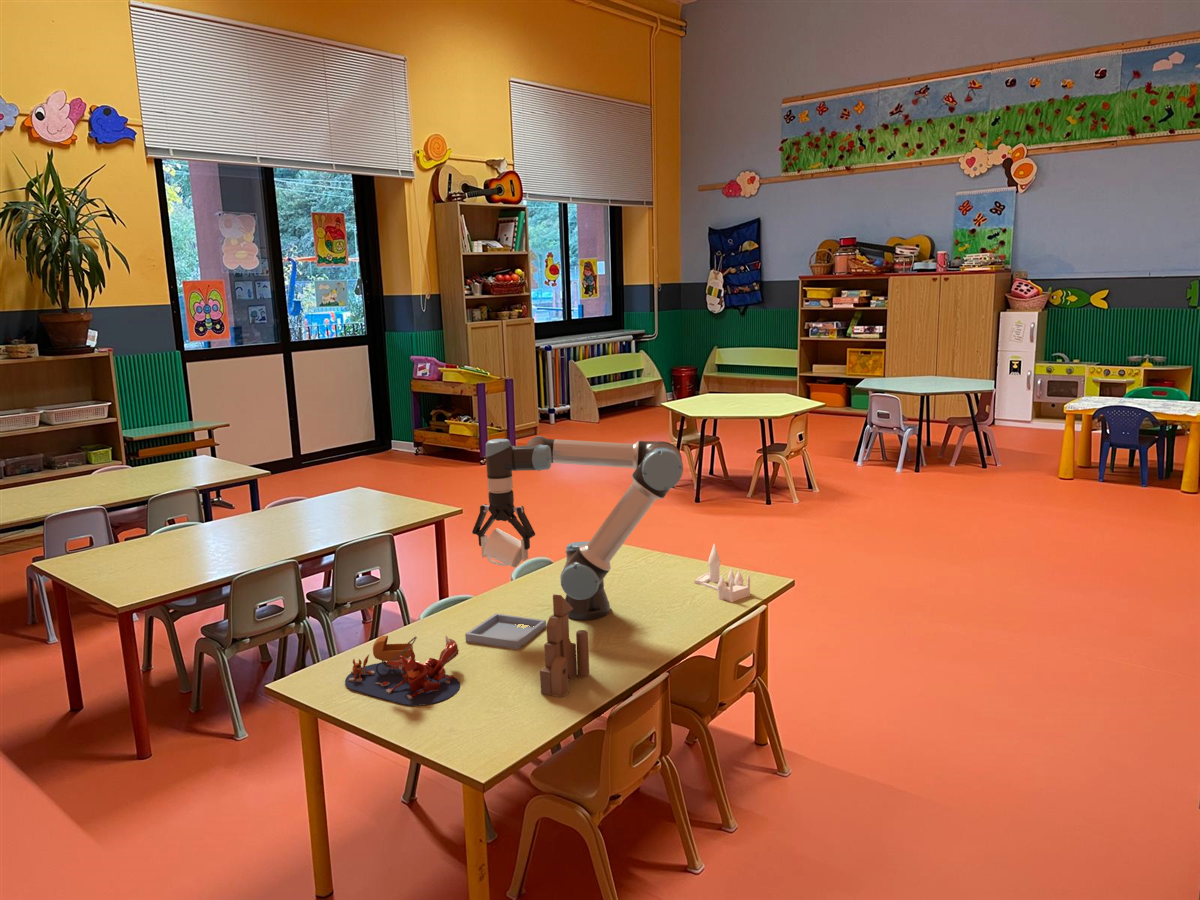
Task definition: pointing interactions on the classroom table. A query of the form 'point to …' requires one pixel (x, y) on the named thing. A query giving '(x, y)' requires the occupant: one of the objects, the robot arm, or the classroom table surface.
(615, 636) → the classroom table surface
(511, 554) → the mug
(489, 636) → the tray
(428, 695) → the toy playset
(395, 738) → the classroom table surface
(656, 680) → the classroom table surface
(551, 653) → the wooden toy
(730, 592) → the toy castle
